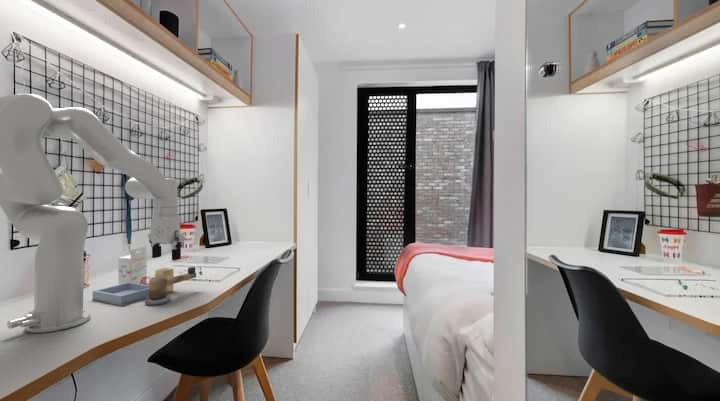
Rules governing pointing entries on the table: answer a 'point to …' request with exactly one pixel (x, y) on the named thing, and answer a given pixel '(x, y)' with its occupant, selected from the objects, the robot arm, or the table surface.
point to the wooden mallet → (167, 283)
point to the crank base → (157, 301)
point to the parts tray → (122, 293)
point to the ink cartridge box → (133, 267)
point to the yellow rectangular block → (167, 274)
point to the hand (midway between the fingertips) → (166, 258)
